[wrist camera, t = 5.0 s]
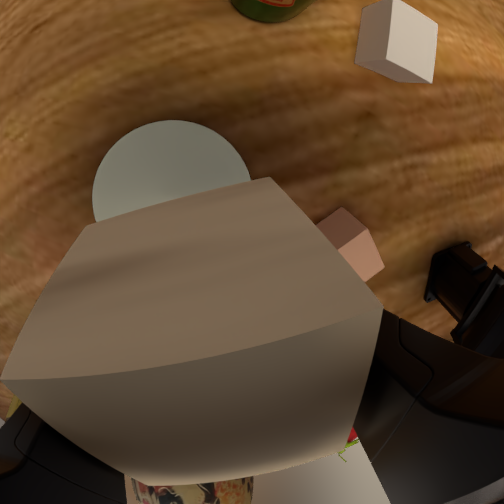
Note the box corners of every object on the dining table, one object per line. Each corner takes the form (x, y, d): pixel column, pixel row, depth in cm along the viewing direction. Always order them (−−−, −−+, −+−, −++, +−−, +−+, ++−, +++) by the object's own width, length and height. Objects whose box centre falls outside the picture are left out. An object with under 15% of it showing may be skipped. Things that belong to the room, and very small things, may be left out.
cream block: (396, 82, 16) (431, 83, 13) (353, 63, 15) (385, 59, 12) (404, 29, 14) (437, 24, 11) (361, 8, 13) (393, -4, 10)
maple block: (289, 319, 11) (343, 450, 6) (150, 351, 10) (148, 485, 5) (269, 176, 8) (383, 306, 3) (86, 225, 7) (-1, 379, 3)
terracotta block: (360, 242, 23) (384, 267, 19) (321, 269, 23) (341, 298, 20) (341, 206, 21) (367, 228, 17) (299, 236, 21) (318, 263, 18)
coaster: (264, 251, 21) (265, 254, 21) (128, 285, 21) (126, 289, 20) (234, 101, 16) (235, 101, 15) (74, 152, 15) (71, 153, 15)
